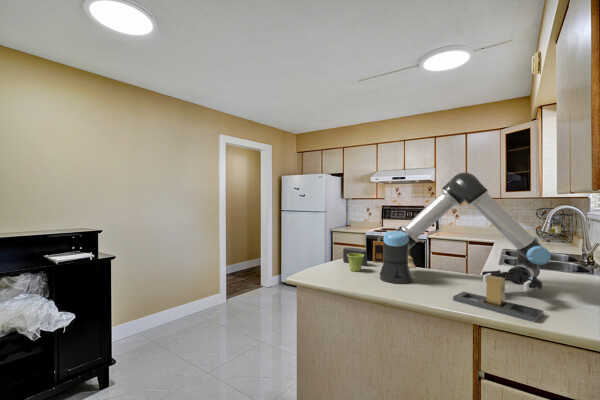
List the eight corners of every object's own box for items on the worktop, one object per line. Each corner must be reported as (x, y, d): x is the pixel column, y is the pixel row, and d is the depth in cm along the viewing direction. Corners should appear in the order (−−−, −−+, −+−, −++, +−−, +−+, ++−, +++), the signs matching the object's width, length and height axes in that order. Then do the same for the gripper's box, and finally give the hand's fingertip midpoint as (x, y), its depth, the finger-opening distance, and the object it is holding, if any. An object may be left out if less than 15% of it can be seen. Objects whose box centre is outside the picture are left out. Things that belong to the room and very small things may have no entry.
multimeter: (389, 259, 191) (389, 229, 191) (390, 263, 181) (391, 231, 181) (366, 258, 194) (366, 228, 194) (366, 261, 184) (367, 230, 184)
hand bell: (409, 264, 178) (409, 238, 178) (418, 267, 171) (419, 240, 171) (398, 265, 176) (398, 238, 176) (407, 268, 168) (407, 240, 168)
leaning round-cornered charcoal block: (369, 265, 174) (369, 249, 174) (365, 266, 171) (365, 250, 171) (346, 261, 185) (346, 246, 185) (342, 262, 182) (342, 247, 182)
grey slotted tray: (453, 300, 115) (453, 296, 115) (463, 295, 121) (463, 291, 121) (535, 322, 94) (535, 317, 94) (543, 315, 101) (543, 310, 101)
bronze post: (486, 306, 108) (486, 277, 108) (490, 304, 111) (491, 275, 111) (500, 310, 105) (500, 280, 105) (504, 307, 107) (504, 278, 107)
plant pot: (367, 270, 161) (367, 255, 161) (357, 273, 155) (357, 257, 155) (353, 267, 168) (353, 252, 168) (343, 270, 162) (343, 254, 162)
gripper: (558, 290, 116) (544, 301, 103) (488, 276, 136) (469, 284, 123) (558, 271, 116) (544, 280, 103) (488, 260, 136) (469, 267, 123)
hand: (503, 282), depth 113 cm, fingers open, 13 cm apart
